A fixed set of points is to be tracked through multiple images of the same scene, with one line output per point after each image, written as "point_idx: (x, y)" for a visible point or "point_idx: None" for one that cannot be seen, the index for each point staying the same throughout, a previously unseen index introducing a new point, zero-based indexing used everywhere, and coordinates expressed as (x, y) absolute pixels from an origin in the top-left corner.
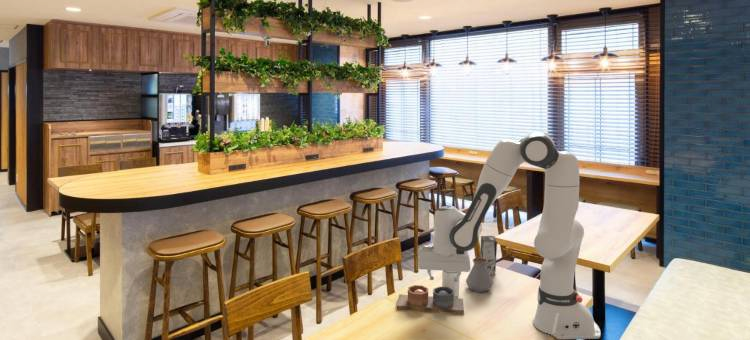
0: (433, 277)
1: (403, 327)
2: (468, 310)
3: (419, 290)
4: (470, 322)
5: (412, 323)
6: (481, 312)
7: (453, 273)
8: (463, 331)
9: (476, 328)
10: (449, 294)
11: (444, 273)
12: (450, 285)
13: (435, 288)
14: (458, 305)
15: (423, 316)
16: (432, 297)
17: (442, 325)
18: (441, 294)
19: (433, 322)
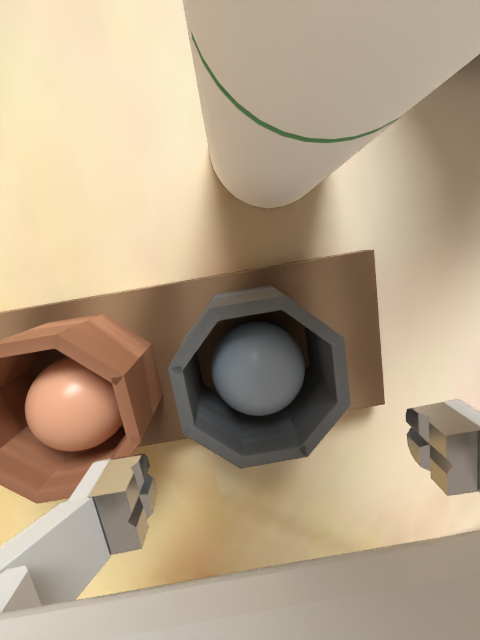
0: (146, 532)
1: None
2: (397, 345)
3: (63, 433)
4: (407, 462)
5: (140, 554)
6: (467, 345)
7: (375, 132)
8: (377, 543)
9: (434, 503)
10: (318, 428)
11: (233, 119)
12: (294, 187)
13: (184, 358)
14: (349, 355)
15: (172, 481)
16: (169, 298)
17: (279, 527)
18: (250, 412)
19: (234, 516)
